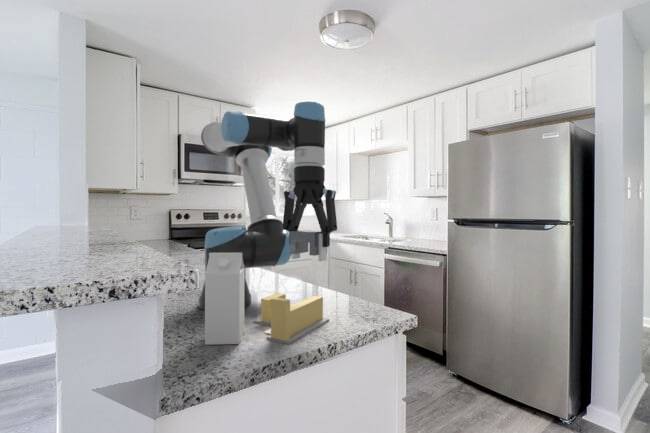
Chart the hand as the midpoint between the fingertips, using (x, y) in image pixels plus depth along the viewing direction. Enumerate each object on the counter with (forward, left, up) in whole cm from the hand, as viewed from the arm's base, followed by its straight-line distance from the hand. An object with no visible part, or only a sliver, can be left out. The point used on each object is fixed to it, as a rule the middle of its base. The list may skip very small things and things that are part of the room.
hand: (308, 259), depth 85 cm
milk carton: (-11, -17, -17) cm, 26 cm away
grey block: (0, 0, +1) cm, 1 cm away
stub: (-10, -1, -16) cm, 19 cm away
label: (-5, -7, -16) cm, 18 cm away
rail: (0, -4, -16) cm, 17 cm away
